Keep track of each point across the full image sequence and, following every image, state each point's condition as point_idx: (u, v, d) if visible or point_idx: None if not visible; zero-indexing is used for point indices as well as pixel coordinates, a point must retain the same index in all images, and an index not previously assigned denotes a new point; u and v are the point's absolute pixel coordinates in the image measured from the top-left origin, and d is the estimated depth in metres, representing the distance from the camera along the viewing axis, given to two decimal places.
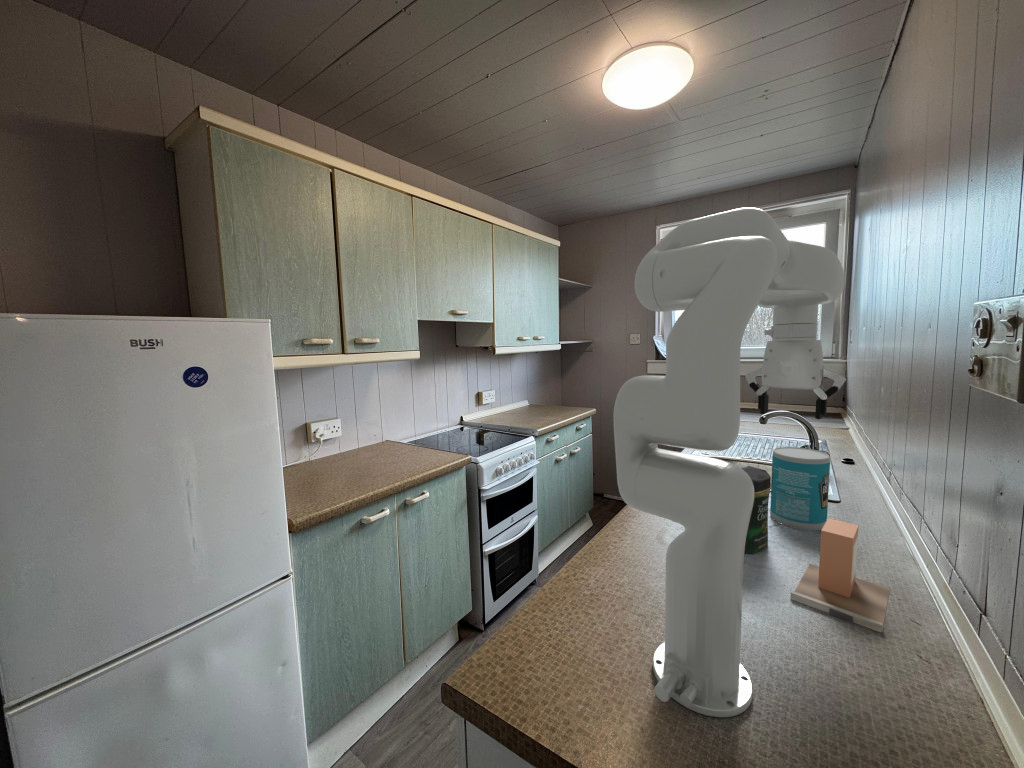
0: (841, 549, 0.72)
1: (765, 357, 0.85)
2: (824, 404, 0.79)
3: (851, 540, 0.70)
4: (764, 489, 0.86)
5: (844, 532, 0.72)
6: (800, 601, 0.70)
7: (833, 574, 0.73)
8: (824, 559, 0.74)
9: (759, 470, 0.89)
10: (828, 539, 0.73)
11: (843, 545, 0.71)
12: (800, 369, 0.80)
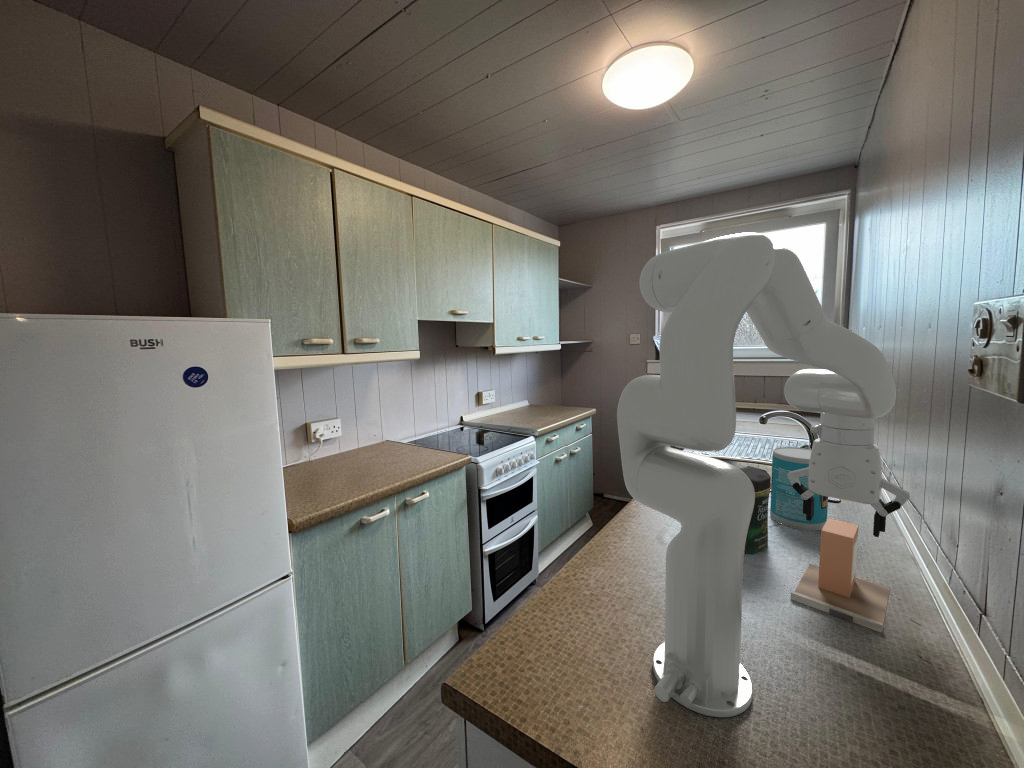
0: (841, 549, 0.72)
1: (812, 460, 0.75)
2: (884, 520, 0.70)
3: (851, 540, 0.70)
4: (764, 489, 0.86)
5: (844, 532, 0.72)
6: (800, 601, 0.70)
7: (833, 574, 0.73)
8: (824, 559, 0.74)
9: (759, 470, 0.89)
10: (828, 539, 0.73)
11: (843, 545, 0.71)
12: (855, 480, 0.70)
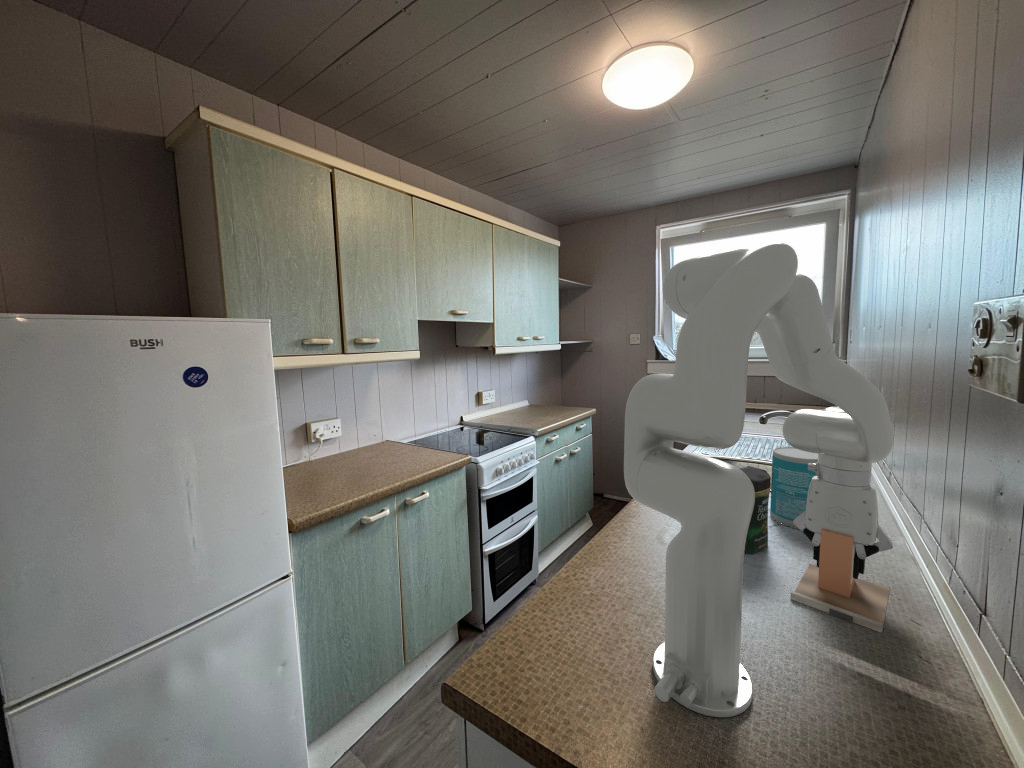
0: (841, 549, 0.72)
1: (809, 498, 0.75)
2: (862, 563, 0.72)
3: (851, 540, 0.71)
4: (764, 489, 0.86)
5: None
6: (800, 601, 0.70)
7: (833, 574, 0.73)
8: (823, 559, 0.74)
9: (759, 470, 0.89)
10: (828, 539, 0.73)
11: (843, 545, 0.71)
12: (852, 520, 0.71)
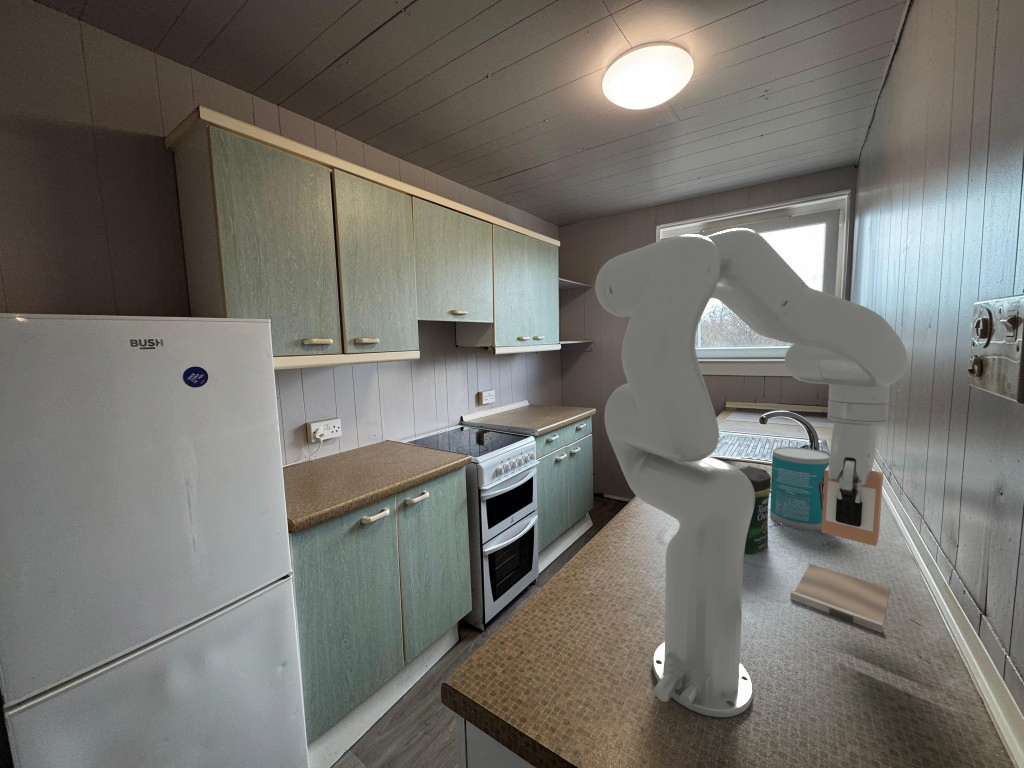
0: None
1: None
2: (842, 506, 0.66)
3: (825, 472, 0.68)
4: (764, 489, 0.86)
5: None
6: (800, 601, 0.70)
7: None
8: None
9: (759, 470, 0.89)
10: None
11: None
12: None
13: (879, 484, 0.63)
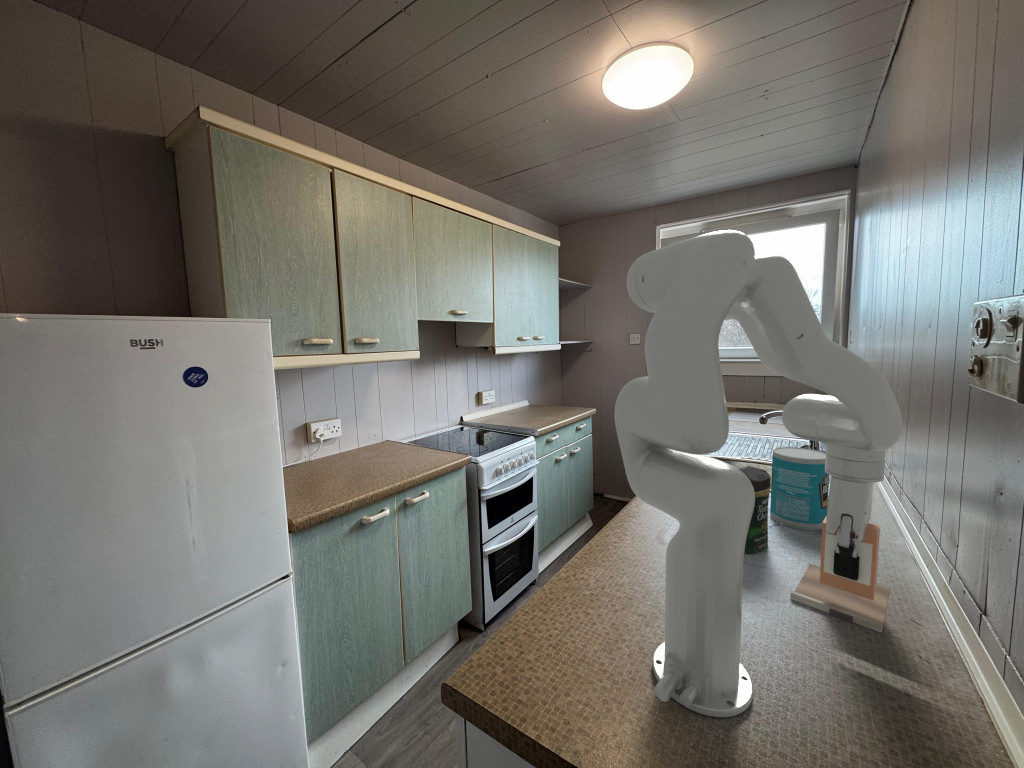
0: None
1: None
2: (839, 560, 0.67)
3: None
4: (764, 489, 0.86)
5: None
6: (800, 601, 0.70)
7: None
8: None
9: (759, 470, 0.89)
10: None
11: None
12: None
13: (876, 540, 0.64)
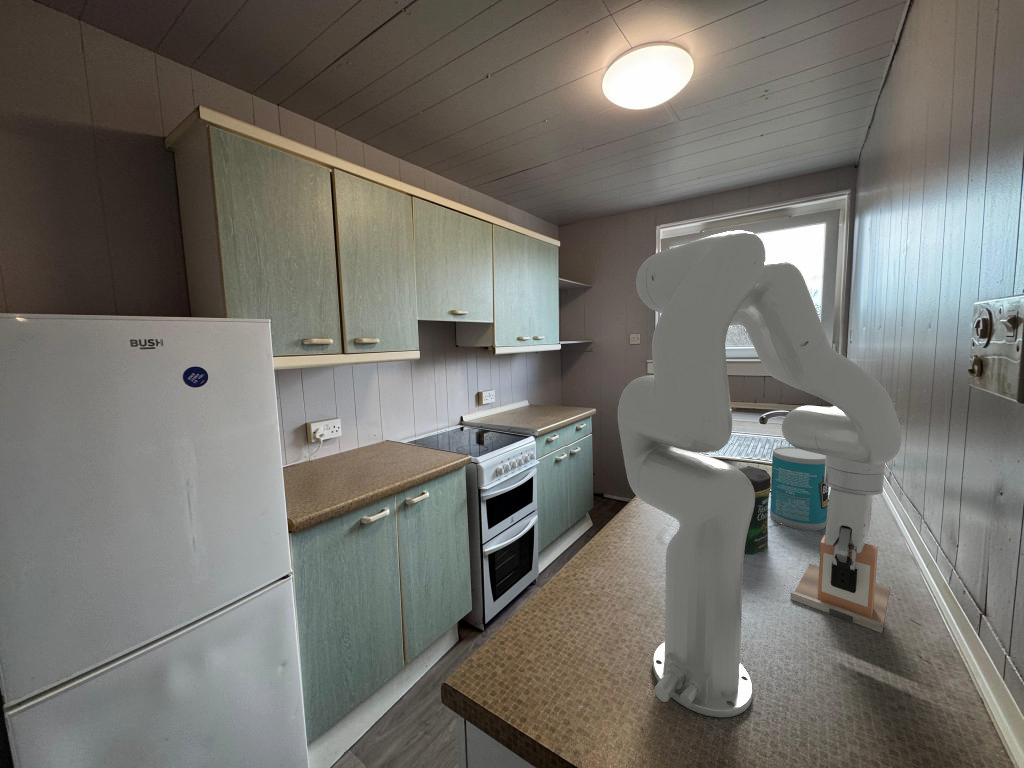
0: None
1: None
2: (837, 571, 0.66)
3: (820, 544, 0.69)
4: (764, 489, 0.86)
5: None
6: (800, 601, 0.70)
7: None
8: None
9: (759, 470, 0.89)
10: None
11: None
12: None
13: (873, 561, 0.64)
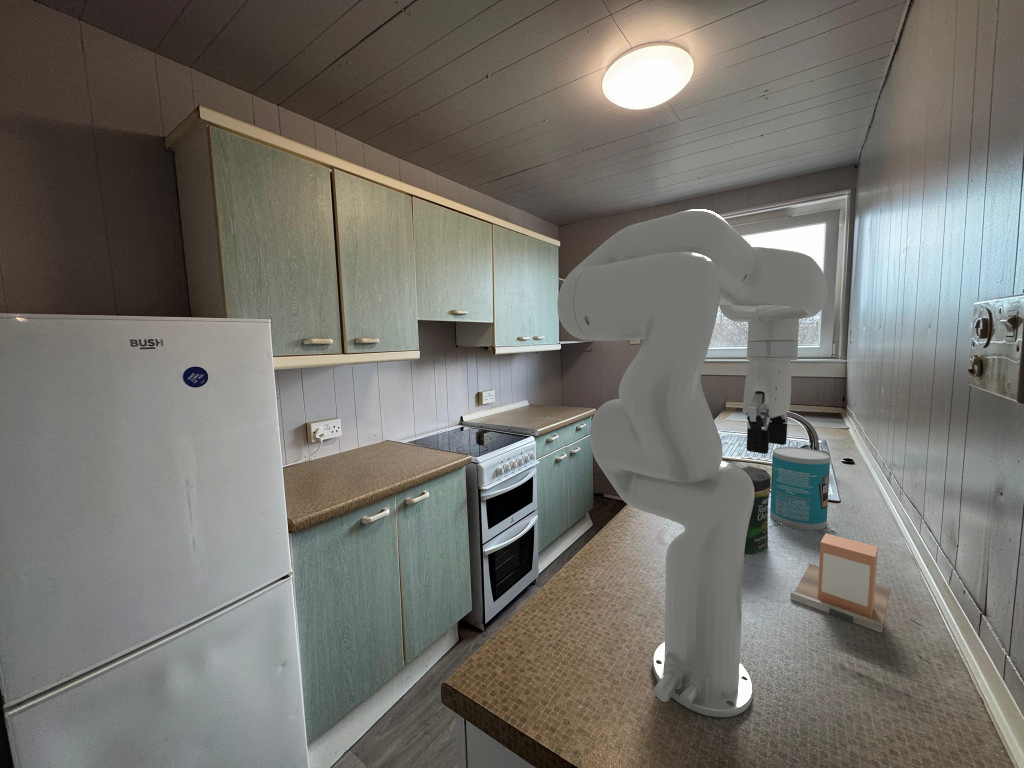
0: None
1: None
2: (751, 435, 0.69)
3: (820, 544, 0.69)
4: (764, 489, 0.86)
5: (834, 542, 0.69)
6: (800, 601, 0.70)
7: None
8: None
9: (759, 470, 0.89)
10: None
11: None
12: None
13: (873, 561, 0.64)
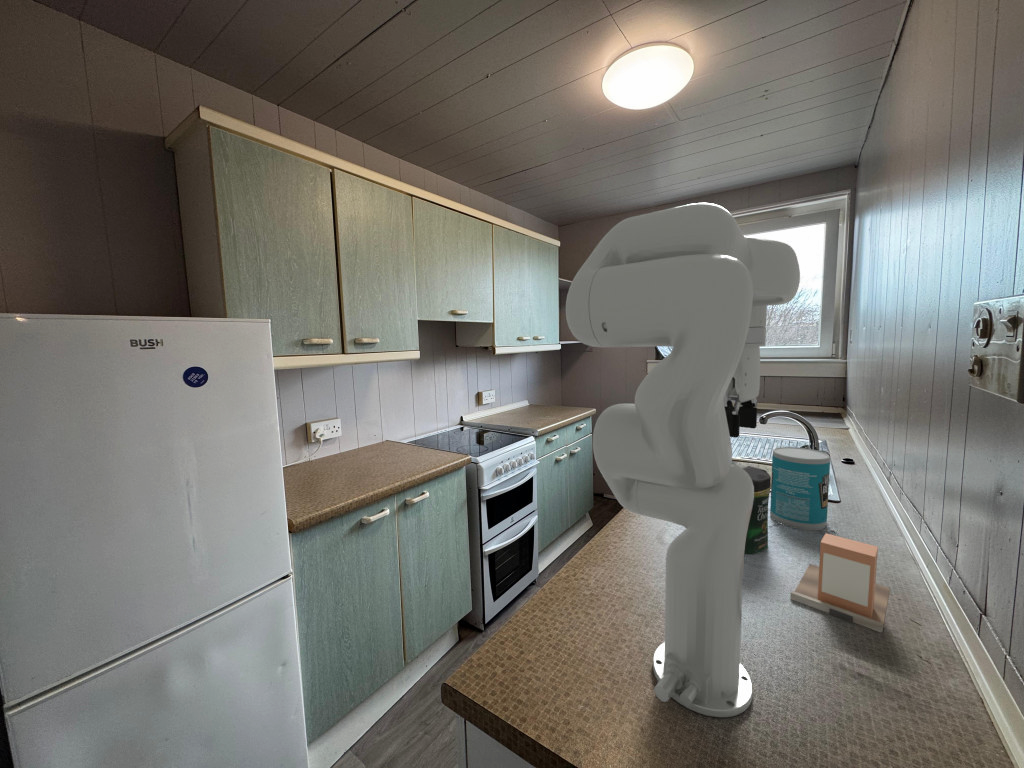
0: None
1: None
2: None
3: (820, 544, 0.69)
4: (764, 489, 0.86)
5: (834, 542, 0.69)
6: (800, 601, 0.70)
7: None
8: None
9: (759, 470, 0.89)
10: None
11: None
12: None
13: (873, 561, 0.64)
